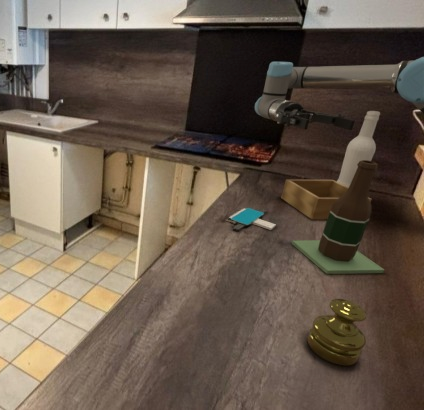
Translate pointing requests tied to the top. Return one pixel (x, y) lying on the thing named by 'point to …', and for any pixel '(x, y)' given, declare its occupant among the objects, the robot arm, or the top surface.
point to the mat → (332, 266)
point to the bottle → (359, 148)
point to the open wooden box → (313, 196)
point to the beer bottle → (349, 216)
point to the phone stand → (249, 219)
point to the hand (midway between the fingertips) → (329, 125)
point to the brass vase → (338, 333)
